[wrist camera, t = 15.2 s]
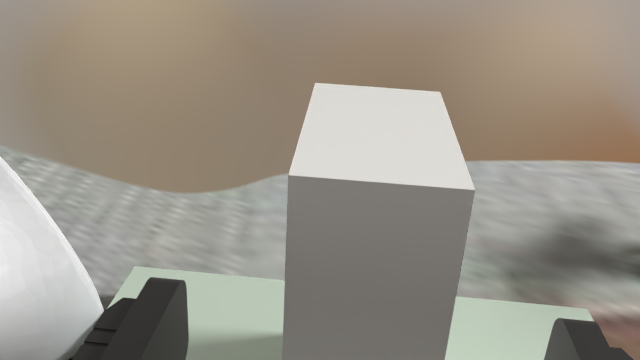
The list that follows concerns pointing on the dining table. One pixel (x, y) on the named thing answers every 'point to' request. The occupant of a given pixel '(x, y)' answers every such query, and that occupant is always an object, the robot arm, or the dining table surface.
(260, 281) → the pin board
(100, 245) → the dining table surface
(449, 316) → the block
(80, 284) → the spoon rest
